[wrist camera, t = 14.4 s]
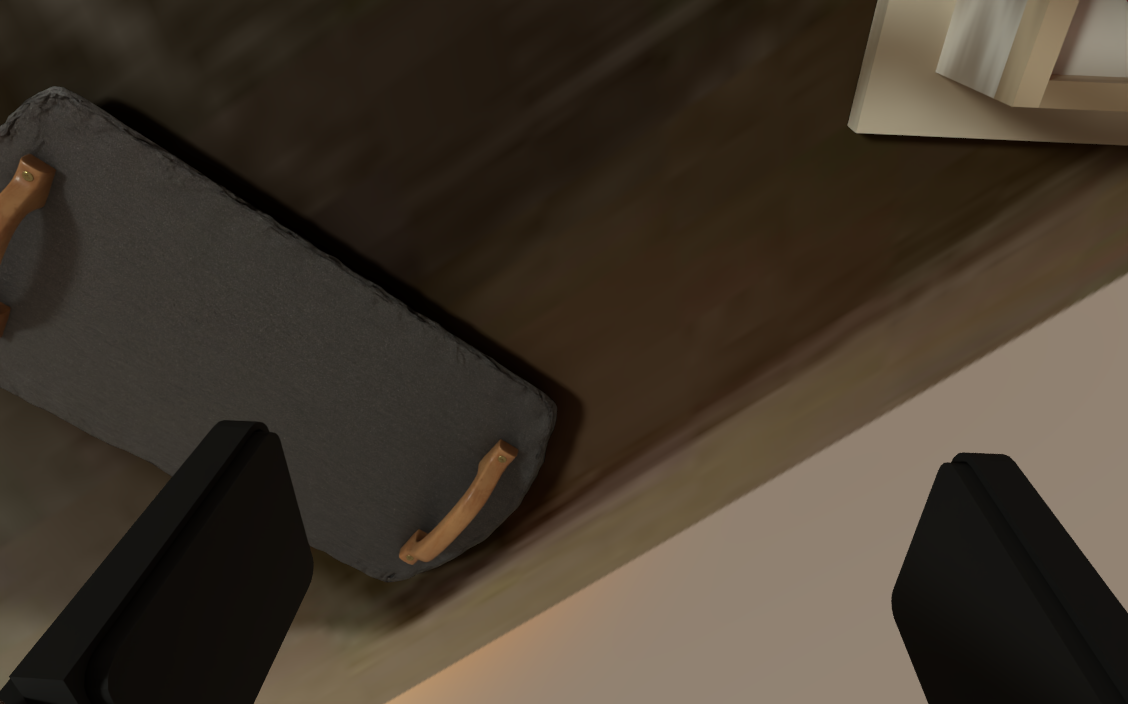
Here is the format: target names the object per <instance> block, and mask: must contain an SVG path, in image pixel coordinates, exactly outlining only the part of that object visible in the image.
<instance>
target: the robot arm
mask: <svg viewBox="0 0 1128 704" xmlns="http://www.w3.org/2000/svg"><path fill="white" fill-rule="evenodd" d="M312 575H313V557H312V554H311V550H310V546H309V543H308V539H307V535H306V532H305V528H304V524H303V521H302V517H301V514H300V510H299V506H298V503H297V499H296V495H295V492H294V488H293V484H292V481H291V477H290V473H289V470H288V466H287V462H286V459H285V455H284V451H283V448H282V444H281V440H280V438H279V436H278V435H277V434H276V433H274V432H269V429H268V427H267V426H266V425H265V424H264V423H263V422H257V421H234V420H222V421H219V422H218V423H217V424H216V425H214V426H213V428H212V429H211V430H210V431H209V433H208V434H207V435H206V436H205V437H204V439H203V440H202V441H201V442H200V444H199V445H198V446H197V447H196V448H195V450H194V451H193V452H192V453H191V455H190V456H189V457H188V458H187V459H186V461H185V462H184V463H183V464H182V466H181V467H180V468H179V469H178V470H177V472H176V473H175V474H174V475H173V477H172V478H171V479H170V480H169V481H168V483H167V484H166V485H165V486H164V488H163V489H162V490H161V491H160V492H159V494H158V495H157V496H156V497H155V499H154V500H153V501H152V502H151V503H150V505H149V506H148V507H147V508H146V510H145V511H144V512H143V513H142V514H141V516H140V517H139V518H138V519H137V521H136V522H135V523H134V524H133V525H132V527H131V528H130V529H129V530H128V532H127V533H126V534H125V535H124V537H123V538H122V539H121V540H120V541H119V543H118V544H117V545H116V546H115V548H114V549H113V550H112V551H111V552H110V554H109V555H108V556H107V557H106V559H105V560H104V561H103V562H102V563H101V565H100V566H99V567H98V568H97V570H96V571H95V572H94V573H93V574H92V576H91V577H90V578H89V579H88V581H87V582H86V583H85V584H84V585H83V587H82V588H81V589H80V590H79V592H78V593H77V594H76V595H75V596H74V598H73V599H72V600H71V601H70V603H69V604H68V605H67V606H66V607H65V609H64V610H63V611H62V612H61V614H60V615H59V616H58V617H57V618H56V620H55V621H54V622H53V623H52V625H51V626H50V627H49V628H48V629H47V631H46V632H45V633H44V634H43V636H42V637H41V638H40V639H39V640H38V642H37V643H36V644H35V645H34V647H33V648H32V649H31V650H30V652H29V653H28V654H27V655H26V656H25V658H24V659H23V660H22V661H21V663H20V664H19V665H18V666H17V667H16V669H15V670H14V671H13V672H12V674H11V675H10V676H9V677H10V680H9V681H8V682H7V683H6V685H5V686H4V687H3V688H2V689H1V691H0V704H254V702H255V700H256V697H257V695H258V693H259V691H260V689H261V687H262V685H263V683H264V681H265V678H266V676H267V674H268V672H269V670H270V668H271V666H272V664H273V661H274V659H275V657H276V655H277V653H278V651H279V649H280V647H281V645H282V642H283V640H284V638H285V636H286V634H287V632H288V630H289V628H290V625H291V623H292V621H293V619H294V617H295V615H296V613H297V611H298V609H299V606H300V604H301V602H302V600H303V598H304V596H305V594H306V592H307V589H308V587H309V585H310V582H311V579H312ZM891 602H892V611H893V616H894V619H895V622H896V624H897V627H898V629H899V631H900V634H901V637H902V639H903V642H904V644H905V647H906V649H907V651H908V654H909V656H910V659H911V662H912V664H913V666H914V669H915V672H916V674H917V677H918V679H919V682H920V684H921V686H922V689H923V691H924V694H925V696H926V699H927V701H928V704H1128V613H1127V612H1126V610H1125V609H1124V608H1123V606H1122V605H1121V603H1120V602H1119V601H1118V600H1117V598H1116V597H1115V596H1114V594H1113V593H1112V592H1111V590H1110V589H1109V587H1108V586H1107V585H1106V583H1105V582H1104V581H1103V579H1102V578H1101V577H1100V575H1099V574H1098V573H1097V571H1096V570H1095V569H1094V567H1093V566H1092V565H1091V563H1090V562H1089V561H1088V559H1087V558H1086V557H1085V555H1084V554H1083V553H1082V551H1081V550H1080V549H1079V547H1078V546H1077V545H1076V543H1075V542H1074V541H1073V539H1072V538H1071V537H1070V535H1069V534H1068V533H1067V531H1066V530H1065V529H1064V527H1063V526H1062V524H1061V523H1060V522H1059V520H1058V519H1057V518H1056V516H1055V515H1054V514H1053V512H1052V511H1051V510H1050V508H1049V507H1048V506H1047V504H1046V503H1045V502H1044V500H1043V499H1042V498H1041V496H1040V495H1039V494H1038V492H1037V491H1036V490H1035V488H1034V487H1033V486H1032V484H1031V483H1030V482H1029V480H1028V479H1027V478H1026V476H1025V475H1024V474H1023V472H1022V471H1021V470H1020V468H1019V467H1018V466H1017V464H1016V463H1015V462H1014V461H1013V460H1012V459H1011V458H1010V457H1009V456H1007V455H1004V454H984V453H959V454H957V455H956V456H955V457H954V458H953V460H952V462H951V463H943V464H942V465H941V467H940V468H939V470H938V473H937V475H936V478H935V481H934V483H933V486H932V489H931V491H930V494H929V497H928V499H927V502H926V504H925V507H924V510H923V512H922V515H921V518H920V520H919V523H918V526H917V528H916V531H915V534H914V536H913V539H912V541H911V544H910V547H909V550H908V552H907V555H906V557H905V560H904V563H903V565H902V568H901V571H900V574H899V576H898V578H897V581H896V584H895V586H894V589H893V592H892V600H891Z"/></svg>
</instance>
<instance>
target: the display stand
mask: <svg viewBox="0 0 1128 704" xmlns="http://www.w3.org/2000/svg"><path fill="white" fill-rule="evenodd" d="M848 127H850V128H851V129H852V130H853V131H854V132H855V133H868V134H890V135H912V136H933V137H955V138H977V139H998V140H1020V141H1042V142H1064V143H1085V144H1107V145H1128V2H1127V0H878V2H877V6H876V10H875V14H874V18H873V22H872V26H871V31H870V35H869V39H868V43H867V47H866V51H865V55H864V59H863V64H862V68H861V72H860V76H859V80H858V84H857V88H856V93H855V97H854V101H853V105H852V109H851V113H850V117H849V122H848Z"/></svg>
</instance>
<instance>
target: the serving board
mask: <svg viewBox="0 0 1128 704" xmlns="http://www.w3.org/2000/svg"><path fill="white" fill-rule="evenodd" d="M0 387H1V388H3V389H5V390H7V391H9V392H11V393H13V394H15V395H17V396H19V397H21V398H22V399H24V400H26V401H27V402H29V403H31V404H33V405H35V406H37V407H39V408H42V409H44V410H47V411H49V412H51V413H52V414H54V415H56V416H58V417H59V418H61V419H63V420H65V421H67V422H69V423H71V424H73V425H74V426H76V427H78V428H80V429H81V430H83V431H85V432H87V433H88V434H90V435H92V436H94V437H96V438H99V439H100V440H103V441H104V442H106V443H108V444H110V445H112V446H115V447H118V448H121V449H123V450H126V451H128V452H130V453H132V454H134V455H136V456H138V457H141V458H143V459H145V460H146V461H148V462H150V463H152V464H154V465H155V466H157V467H159V468H160V469H162V470H163V471H164V472H166V473H168V474H169V475H171V476H172V477H173V475H174V474H175V473H176V472H177V470H178V469H179V468H180V467H181V466H182V464H183V463H184V462H185V461H186V459H187V458H188V457H189V456H190V455H191V453H192V452H193V451H194V450H195V448H196V447H197V446H198V445H199V444H200V442H201V441H202V440H203V439H204V437H205V436H206V435H207V434H208V433H209V431H210V430H211V429H212V428H213V426H214V425H216V424H217V423H218V422H219V421H222V420H234V421H257V422H263V423H264V424H265V425H266V426H267V427H268V429H269V432H274V433H276V434H277V435H278V436H279V438H280V440H281V444H282V448H283V451H284V455H285V459H286V462H287V466H288V470H289V473H290V477H291V481H292V484H293V488H294V492H295V495H296V499H297V503H298V506H299V510H300V514H301V517H302V521H303V524H304V528H305V532H306V535H307V539H308V543H309V545H311V546H312V547H314V548H316V549H318V550H322V551H325V552H326V553H328V554H329V555H331V556H332V557H334V558H335V559H337V560H339V561H341V562H342V563H345V564H348V565H350V566H352V567H354V568H356V569H358V570H360V571H362V572H364V573H365V574H367V575H368V576H371V577H374V578H376V579H379V580H382V581H385V582H394V581H401V580H405V579H409V578H411V577H413V576H415V575H416V574H418V573H421V572H424V571H427V570H430V569H433V568H436V567H439V566H441V565H443V564H444V563H446V562H448V561H450V560H452V559H454V558H456V557H457V556H459V555H461V554H462V553H463V552H465V551H466V550H467V549H469V548H471V547H473V546H475V545H477V544H479V543H481V542H482V541H484V540H485V539H486V538H488V537H489V536H490V535H491V533H492V532H493V531H494V530H495V529H497V528H498V527H499V526H500V525H501V524H502V523H503V522H504V521H505V520H506V519H507V518H508V517H509V516H510V515H511V514H512V513H513V512H514V511H515V510H516V509H517V508H518V507H519V505H520V504H521V502H522V500H523V498H524V496H525V494H526V493H527V492H528V490H529V488H530V487H531V485H532V483H533V481H534V480H535V478H536V477H537V475H538V472H539V469H540V467H541V466H542V464H543V463H544V460H545V452H546V447H547V444H548V441H549V438H550V436H551V434H552V432H553V430H554V427H555V423H556V418H557V406H556V404H555V402H554V401H553V400H552V399H551V398H550V397H548V396H547V395H546V394H545V393H544V392H542V391H541V390H539V389H538V388H536V387H535V386H533V385H532V384H530V383H529V382H527V381H526V380H524V379H522V378H521V377H519V376H517V375H516V374H514V373H512V372H511V371H509V370H508V369H507V368H505V367H504V366H502V365H500V364H499V363H498V362H496V361H495V360H494V359H493V358H491V357H489V356H487V355H485V354H483V353H482V352H480V351H479V350H478V349H476V348H474V347H473V346H471V345H469V344H468V343H466V342H464V341H463V340H461V339H460V338H458V337H456V336H455V335H453V334H451V333H450V332H448V331H446V330H445V329H444V328H443V327H442V326H441V325H440V324H439V323H437V322H435V321H433V320H431V319H429V318H428V317H426V316H424V315H423V314H421V313H419V312H417V311H415V310H413V309H412V308H411V307H409V306H408V305H407V304H406V303H404V302H403V301H401V300H399V299H397V298H396V297H394V296H392V295H391V294H389V293H388V292H387V291H385V290H384V289H383V288H382V287H381V286H380V285H377V284H375V283H373V282H371V281H370V280H368V279H367V278H365V277H363V276H361V275H360V274H358V273H356V272H354V271H352V270H351V269H349V268H348V267H347V266H345V265H344V264H343V263H342V262H341V261H340V260H339V259H337V258H336V257H334V256H331V255H329V254H327V253H325V252H323V251H321V250H320V249H318V248H317V247H316V246H314V245H313V244H312V243H311V242H310V241H309V240H307V239H305V238H303V237H302V236H300V235H298V234H296V233H295V232H293V231H292V230H290V229H288V228H286V227H285V226H283V225H281V224H280V223H279V222H278V221H276V220H275V219H274V218H273V217H272V216H270V215H268V214H266V213H265V212H263V211H261V210H259V209H258V208H256V207H254V206H253V205H251V204H250V203H248V202H246V201H245V200H243V199H242V198H240V197H239V196H237V195H236V194H234V193H233V192H231V191H230V190H228V189H227V188H225V187H224V186H222V185H220V184H218V183H216V182H214V181H212V180H211V179H209V178H208V177H206V176H205V175H204V174H202V173H201V172H199V171H198V170H196V169H194V168H193V167H191V166H190V165H188V164H187V163H185V162H184V161H182V160H181V159H180V158H178V157H177V156H175V155H174V154H172V153H170V152H168V151H166V150H165V149H163V148H162V147H160V146H159V145H157V144H156V143H154V142H152V141H151V140H149V139H148V138H146V137H144V136H143V135H141V134H140V133H138V132H137V131H135V130H134V129H132V128H130V127H128V126H127V125H125V124H124V123H122V122H121V121H119V120H118V119H116V118H115V117H113V116H112V115H111V114H109V113H108V112H106V111H104V110H103V109H101V108H100V107H98V106H96V105H95V104H93V103H91V102H90V101H88V100H87V99H85V98H83V97H82V96H80V95H78V94H76V93H74V92H72V91H70V90H68V89H65V88H64V87H55V86H53V87H51V88H49V89H46V90H44V91H42V92H40V93H38V94H36V95H34V96H32V97H31V98H29V99H27V100H26V101H25V102H24V103H23V104H22V105H21V106H20V107H19V108H18V109H17V110H16V111H15V112H13V113H12V114H11V115H10V116H8V118H7V121H6V123H5V124H3V125H1V126H0Z"/></svg>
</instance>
